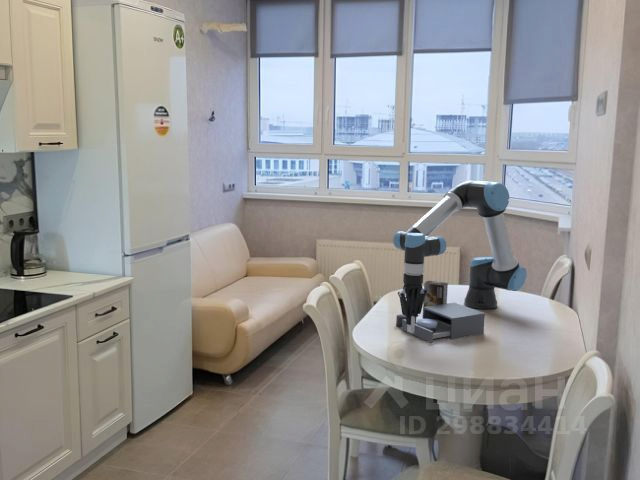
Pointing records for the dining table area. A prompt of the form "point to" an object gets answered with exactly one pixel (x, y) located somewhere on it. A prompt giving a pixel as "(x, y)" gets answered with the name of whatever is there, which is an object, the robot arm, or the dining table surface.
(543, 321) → the dining table surface
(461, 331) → the gray drawer box
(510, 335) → the dining table surface
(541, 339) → the dining table surface
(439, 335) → the tray
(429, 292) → the coffee box
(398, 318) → the short dark gray cylinder
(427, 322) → the light blue dome
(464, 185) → the robot arm
